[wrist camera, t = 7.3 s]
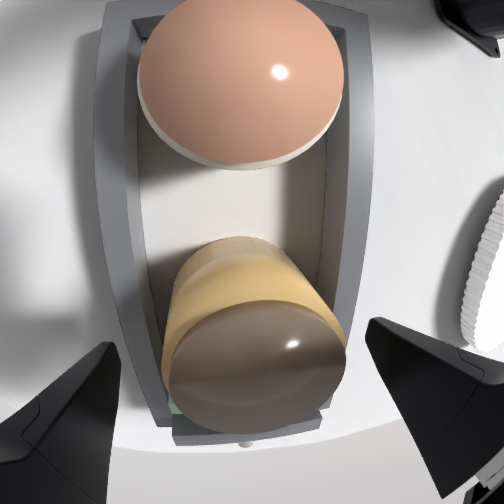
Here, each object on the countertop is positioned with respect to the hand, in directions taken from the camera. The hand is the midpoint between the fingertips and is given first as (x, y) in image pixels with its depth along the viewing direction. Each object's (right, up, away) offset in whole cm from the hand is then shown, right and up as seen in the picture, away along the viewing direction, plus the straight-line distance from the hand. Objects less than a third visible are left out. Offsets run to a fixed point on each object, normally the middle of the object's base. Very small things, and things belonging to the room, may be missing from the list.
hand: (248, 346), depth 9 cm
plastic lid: (+20, +3, +6) cm, 21 cm away
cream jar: (0, +9, 0) cm, 9 cm away
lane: (0, +4, +2) cm, 4 cm away
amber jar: (0, +1, +3) cm, 3 cm away
